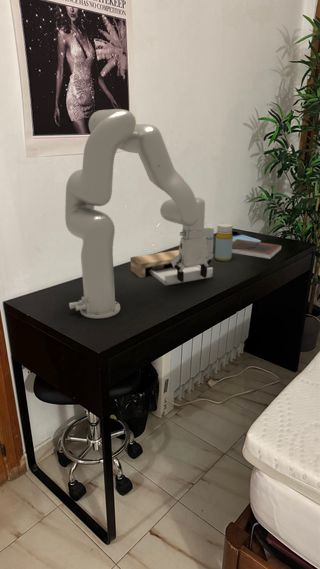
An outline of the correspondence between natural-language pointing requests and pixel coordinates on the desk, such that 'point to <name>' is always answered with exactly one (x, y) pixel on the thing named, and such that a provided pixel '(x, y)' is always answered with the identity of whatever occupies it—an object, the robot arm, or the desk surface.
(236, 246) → the book
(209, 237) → the ink box
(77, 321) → the desk surface
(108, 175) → the robot arm
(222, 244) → the bottle
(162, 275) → the white flat rectangular tray
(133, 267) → the oak overhang
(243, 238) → the waterproof phone case
